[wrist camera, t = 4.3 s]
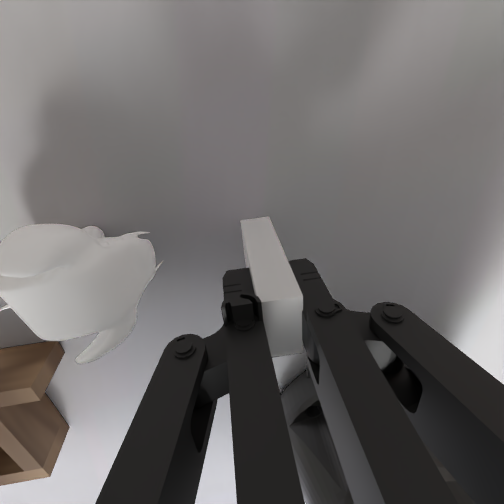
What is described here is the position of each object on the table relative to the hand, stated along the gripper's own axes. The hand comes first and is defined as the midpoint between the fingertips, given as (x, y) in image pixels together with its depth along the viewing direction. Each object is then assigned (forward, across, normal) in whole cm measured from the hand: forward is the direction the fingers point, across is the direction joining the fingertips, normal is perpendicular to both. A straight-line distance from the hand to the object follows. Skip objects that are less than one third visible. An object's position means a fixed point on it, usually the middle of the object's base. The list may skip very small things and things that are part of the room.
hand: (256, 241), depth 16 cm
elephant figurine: (+2, +9, 0) cm, 9 cm away
